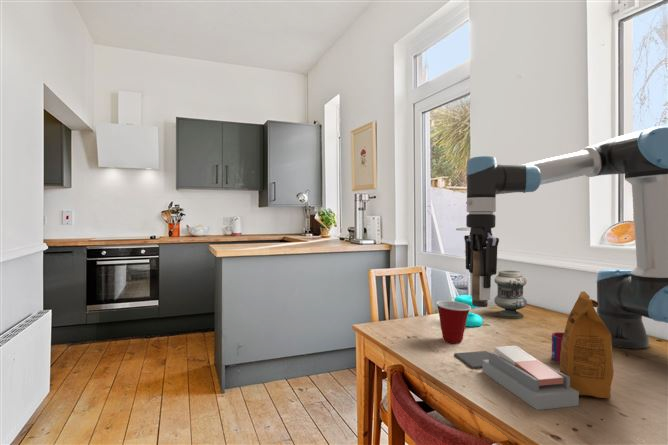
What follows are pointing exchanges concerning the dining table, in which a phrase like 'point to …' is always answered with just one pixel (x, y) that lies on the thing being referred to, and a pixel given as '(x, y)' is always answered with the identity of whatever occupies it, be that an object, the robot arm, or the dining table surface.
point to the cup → (556, 345)
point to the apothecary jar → (510, 293)
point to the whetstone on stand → (530, 385)
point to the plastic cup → (452, 320)
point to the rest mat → (473, 358)
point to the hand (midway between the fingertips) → (480, 297)
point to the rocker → (529, 365)
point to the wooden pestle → (477, 282)
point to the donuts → (472, 318)
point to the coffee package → (587, 350)
